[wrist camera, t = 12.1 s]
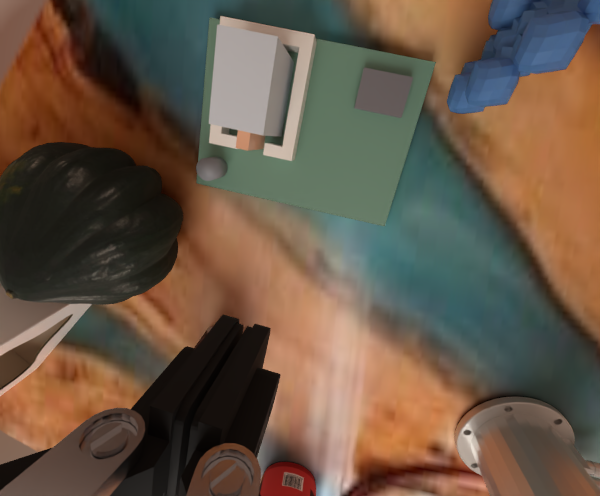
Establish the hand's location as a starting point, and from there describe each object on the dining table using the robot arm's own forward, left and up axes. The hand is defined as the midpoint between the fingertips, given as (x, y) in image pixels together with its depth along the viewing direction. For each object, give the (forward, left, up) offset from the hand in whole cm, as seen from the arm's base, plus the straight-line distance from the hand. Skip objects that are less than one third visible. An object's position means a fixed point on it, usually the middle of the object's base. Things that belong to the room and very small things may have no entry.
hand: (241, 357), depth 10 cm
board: (+2, -8, -22) cm, 24 cm away
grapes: (-12, -16, -23) cm, 30 cm away
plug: (+6, -10, -21) cm, 24 cm away
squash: (+19, +4, -23) cm, 29 cm away
